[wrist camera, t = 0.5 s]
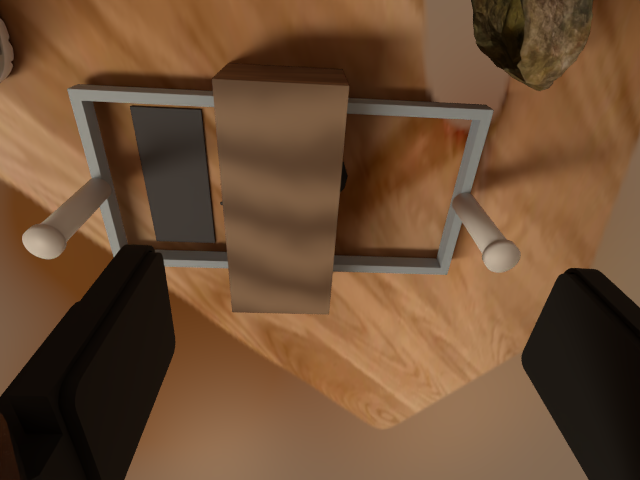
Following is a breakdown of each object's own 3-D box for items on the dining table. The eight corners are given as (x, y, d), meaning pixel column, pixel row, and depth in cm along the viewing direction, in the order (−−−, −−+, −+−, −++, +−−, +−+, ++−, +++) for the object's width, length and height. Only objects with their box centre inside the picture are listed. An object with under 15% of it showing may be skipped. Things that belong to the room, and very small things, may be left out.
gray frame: (67, 83, 38) (-28, 122, 27) (495, 105, 40) (563, 149, 29) (114, 255, 49) (59, 330, 38) (450, 265, 51) (487, 339, 40)
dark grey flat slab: (130, 106, 40) (129, 106, 40) (201, 109, 40) (200, 110, 40) (157, 240, 49) (156, 241, 48) (215, 242, 49) (214, 242, 49)
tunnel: (227, 63, 38) (211, 78, 32) (342, 69, 39) (349, 85, 32) (241, 271, 51) (232, 312, 45) (326, 274, 52) (328, 314, 46)
